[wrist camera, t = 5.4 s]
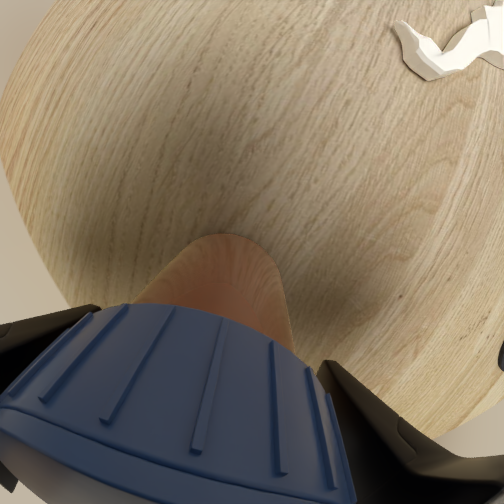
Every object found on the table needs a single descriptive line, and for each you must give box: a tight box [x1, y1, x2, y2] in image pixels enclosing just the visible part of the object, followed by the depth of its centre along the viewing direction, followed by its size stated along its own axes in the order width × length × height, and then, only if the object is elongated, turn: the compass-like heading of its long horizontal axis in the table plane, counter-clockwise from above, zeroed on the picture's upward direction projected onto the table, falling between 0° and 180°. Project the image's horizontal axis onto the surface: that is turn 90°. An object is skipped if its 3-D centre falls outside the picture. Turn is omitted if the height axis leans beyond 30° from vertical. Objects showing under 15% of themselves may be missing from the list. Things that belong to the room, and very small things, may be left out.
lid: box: [0, 303, 357, 504], centre depth 4 cm, size 7×7×3 cm
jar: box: [130, 233, 296, 356], centre depth 8 cm, size 6×6×11 cm
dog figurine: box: [394, 0, 504, 81], centre depth 7 cm, size 2×13×20 cm
